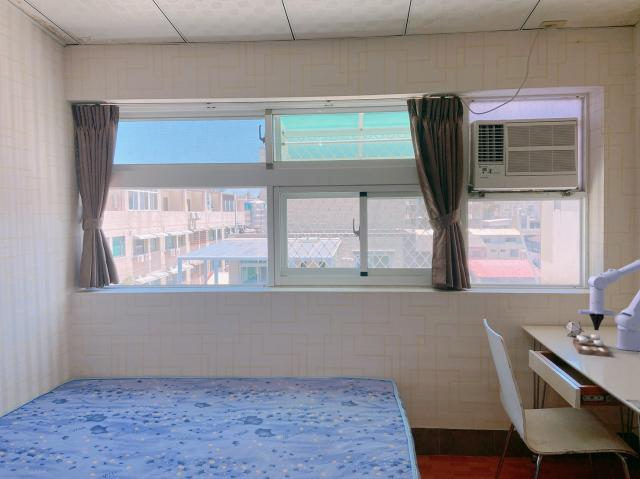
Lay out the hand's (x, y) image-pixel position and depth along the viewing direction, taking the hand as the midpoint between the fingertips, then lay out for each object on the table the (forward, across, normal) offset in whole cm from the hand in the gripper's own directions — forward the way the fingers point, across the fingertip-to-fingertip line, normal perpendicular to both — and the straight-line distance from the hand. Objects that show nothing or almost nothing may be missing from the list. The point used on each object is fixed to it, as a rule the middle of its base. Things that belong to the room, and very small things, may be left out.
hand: (596, 329), depth 207 cm
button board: (+9, -3, -3) cm, 10 cm away
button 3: (+6, 0, -4) cm, 7 cm away
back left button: (+6, -6, +3) cm, 9 cm away
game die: (+9, -6, +19) cm, 22 cm away
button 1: (+5, -6, -4) cm, 9 cm away
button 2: (+5, 0, +3) cm, 6 cm away
